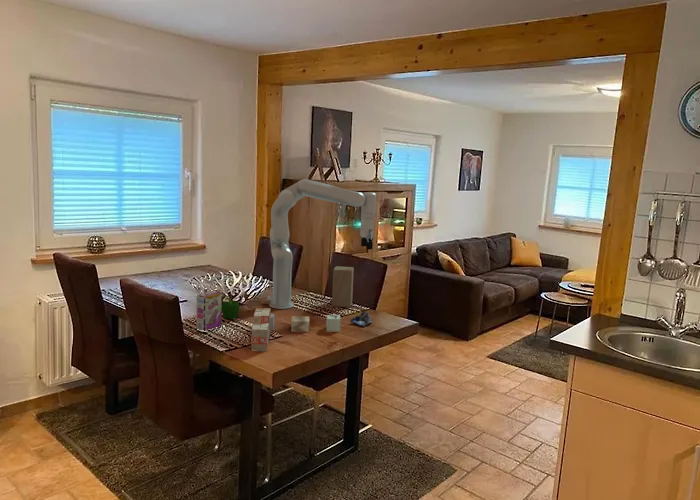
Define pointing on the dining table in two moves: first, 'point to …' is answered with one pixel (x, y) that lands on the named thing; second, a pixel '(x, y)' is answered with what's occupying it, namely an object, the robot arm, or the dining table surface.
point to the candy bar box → (209, 310)
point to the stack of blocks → (261, 329)
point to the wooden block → (342, 286)
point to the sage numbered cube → (333, 323)
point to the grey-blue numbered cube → (271, 321)
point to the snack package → (362, 319)
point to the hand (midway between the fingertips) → (366, 247)
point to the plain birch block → (300, 324)
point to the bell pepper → (230, 309)
